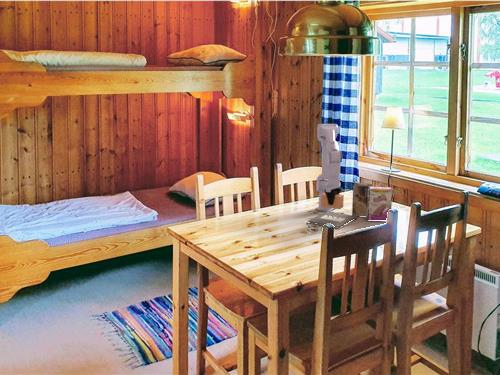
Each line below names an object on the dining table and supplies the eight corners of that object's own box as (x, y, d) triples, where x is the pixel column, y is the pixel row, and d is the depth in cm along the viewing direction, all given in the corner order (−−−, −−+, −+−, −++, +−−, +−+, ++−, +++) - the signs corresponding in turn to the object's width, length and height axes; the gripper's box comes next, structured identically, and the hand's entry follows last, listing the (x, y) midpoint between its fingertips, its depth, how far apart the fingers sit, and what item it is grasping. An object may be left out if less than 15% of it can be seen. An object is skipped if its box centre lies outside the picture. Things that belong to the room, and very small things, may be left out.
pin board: (327, 213, 286) (327, 204, 285) (356, 218, 277) (357, 209, 276) (308, 223, 270) (308, 213, 269) (338, 229, 261) (339, 219, 260)
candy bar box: (367, 221, 272) (369, 188, 268) (366, 218, 277) (368, 186, 273) (390, 222, 271) (393, 189, 267) (389, 219, 276) (391, 187, 272)
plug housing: (324, 204, 276) (324, 192, 275) (343, 206, 272) (343, 194, 271) (321, 206, 272) (321, 194, 271) (340, 209, 268) (340, 196, 267)
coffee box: (371, 214, 284) (373, 183, 280) (370, 218, 278) (371, 186, 274) (353, 213, 287) (354, 182, 283) (351, 216, 281) (352, 185, 277)
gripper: (331, 172, 276) (330, 198, 280) (320, 177, 264) (319, 205, 267) (345, 173, 273) (343, 200, 277) (334, 179, 261) (333, 208, 264)
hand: (332, 203), depth 272 cm, fingers closed on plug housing, 5 cm apart
